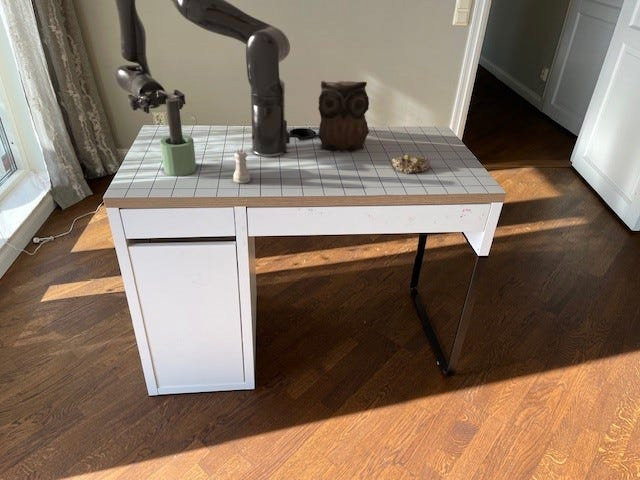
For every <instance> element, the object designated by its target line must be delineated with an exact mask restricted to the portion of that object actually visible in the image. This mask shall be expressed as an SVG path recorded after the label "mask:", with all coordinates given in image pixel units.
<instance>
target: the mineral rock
mask: <svg viewBox="0 0 640 480" xmlns="http://www.w3.org/2000/svg"><path fill="white" fill-rule="evenodd" d="M391 161H392V166H393V167H394V168H395V170H396V171H398V172H401V173H405V174H411V173H412V174H413V173H419V172H425V171H426V170H428V169H429V168H430V164H431V162H430V161H429V159H428V158H425V157H419V156H411V154H408V153H407V154H404V157H402V156H399V157H396V158H392V159H391Z"/></svg>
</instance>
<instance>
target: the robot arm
mask: <svg viewBox="0 0 640 480" xmlns="http://www.w3.org/2000/svg"><path fill="white" fill-rule="evenodd" d="M114 1H115V7H116V11H117V17H118V22H119V34H120V35H119V36H120V37H119V38H120V55H121V57H122V59H124V60H125V61H127V62H130V63H134V64H123V65H119V66H118V67H116V69H115V72H114V78H115V81H116V83H117V85H118V87H120V88H121V89H122V90H124V91H126V92H128V93H131V94H127V99H128V104H129V107H130V109H131V110H132V111H138V109H139V110H140V111H142V112H143V113H145V114H150V113H151V112H150V109H158V108H159V107H162V106H166V99H168V98H177V99H178V101H179V110H183V108H184V105H187V103H186V96H185V94H184V93H183V92H181V91H180V90H178V89H173V92H168V91H166V90H165V88H164V87H163V86H162V85H161V83H159V82H158V81H157V80H156V79H155V78H153V76H152V75H153V74H152V72H151V69H150V66H149V63H148V57H147V33H146V29H145V26H144V23H143V22H142V20H141V18H140V17H141V16H140V15H139V13H138V10H137V7H136V0H114ZM170 1H171V2H172V4H173V6H174V7H175V9H176V10H177V12H178V13H179V14H180V15H181V16H182V17H183V18H184V19H185V20H187V21H188V22H191V23H192V24H194V25H195V26H197V27H199V28H200V29H203V30H205V31H208V32H210V33H212V34H216V35H220V36H223V37H227V38H231V39H234V40H236V41H238V42H241V43H242V44H244V45H245V63H246V77H247V81H248V84H249V86H250V105H251V107H250V108H251V110H250V111H251V144H252V148H251V151H252V153H253V154H255V155H256V156H260V157H264V158H265V157H266V158H272V157H277V156H278V157H279V156H281V155H283V154H287V145H288V144H289V145H290V144H291V138H296V139H297V140H299V141H305V140H311V139H315V138H319V137H318V133H316V134H313V135H309V136H303V137H301V136H300V135H299V134H291V133H290V132H289V130H288V122H287V120H286V118H285V117H286V116H285V110H286V109H285V107H286V106H285V105H286V104H285V102H286V101H285V97H286V96H285V95H286V94H285V93H286V86H285V85H286V84H285V82H284V80H282V79H281V78H280V63H282V62H283V61H285V59H287V57H289V54H290V51H291V43H290V40H289V38H288V36H287V35H286V34H285V32H284V31H282V30H281V29H280V28H279V27H276V26H274V25H271V24H270V23H267V22H265V21H263V20H260V19H258V18H256V17H254V16H252V15H250V14H248V13H246V12H244V11H243V10H241V9H240V8H238V6H235V5H233V4H232V3H230V2H229V1H227V0H170ZM166 107H167V106H166Z"/></svg>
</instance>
